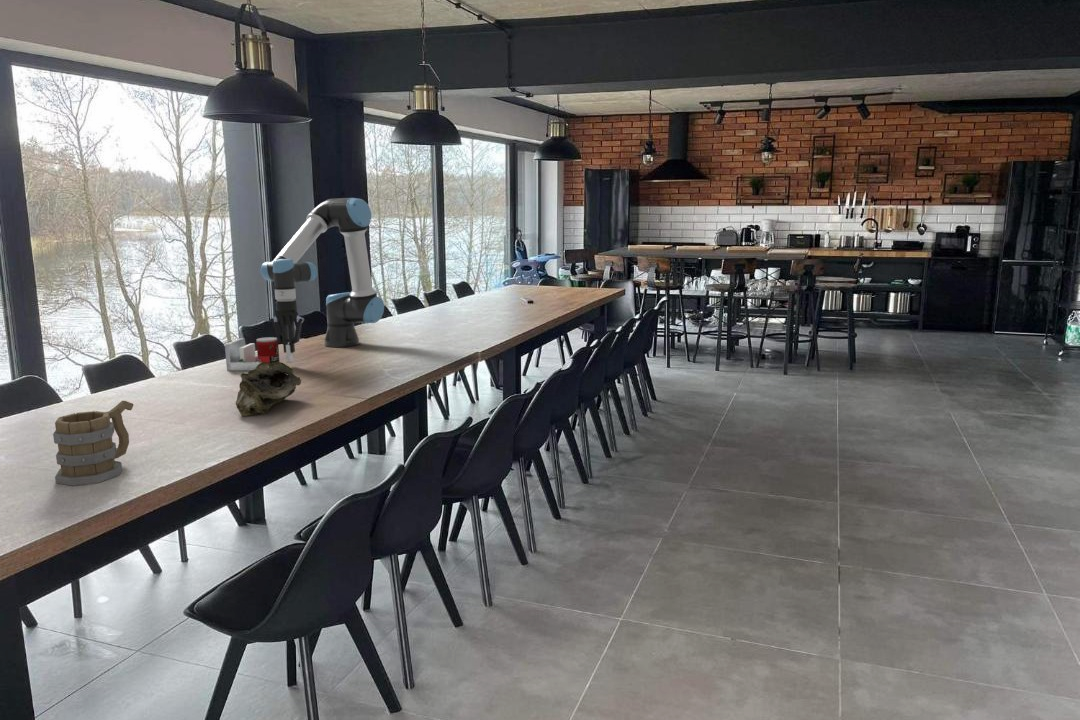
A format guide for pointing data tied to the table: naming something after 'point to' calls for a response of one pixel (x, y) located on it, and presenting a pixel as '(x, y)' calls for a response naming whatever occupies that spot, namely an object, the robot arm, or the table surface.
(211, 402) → the table surface
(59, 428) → the tankard
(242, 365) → the frame
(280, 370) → the hollow geode rock
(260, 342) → the canned food
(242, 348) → the white flat block
